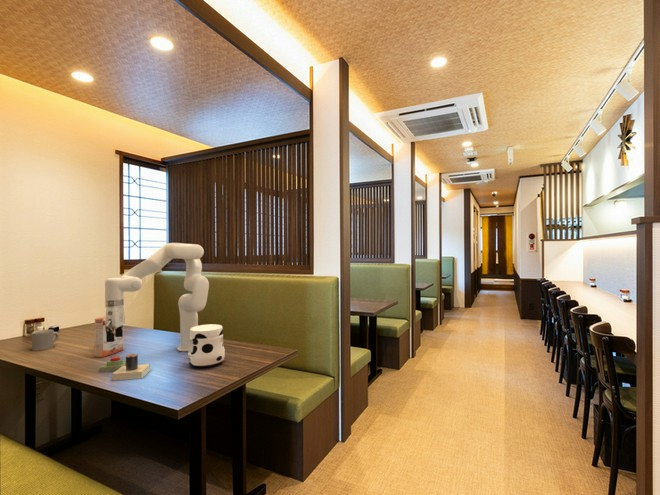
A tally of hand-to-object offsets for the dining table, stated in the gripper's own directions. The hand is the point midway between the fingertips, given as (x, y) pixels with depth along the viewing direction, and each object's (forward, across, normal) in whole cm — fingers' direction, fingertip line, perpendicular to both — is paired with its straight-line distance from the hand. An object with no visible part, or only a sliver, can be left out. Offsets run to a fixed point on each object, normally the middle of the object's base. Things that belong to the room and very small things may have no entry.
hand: (114, 339), depth 163 cm
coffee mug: (+14, +49, +58) cm, 77 cm away
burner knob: (+11, -12, -12) cm, 20 cm away
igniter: (+14, 0, 0) cm, 14 cm away
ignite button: (+11, 0, 0) cm, 11 cm away
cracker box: (+14, +27, +14) cm, 34 cm away
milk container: (+14, -3, -43) cm, 45 cm away
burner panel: (+14, -12, -12) cm, 22 cm away
